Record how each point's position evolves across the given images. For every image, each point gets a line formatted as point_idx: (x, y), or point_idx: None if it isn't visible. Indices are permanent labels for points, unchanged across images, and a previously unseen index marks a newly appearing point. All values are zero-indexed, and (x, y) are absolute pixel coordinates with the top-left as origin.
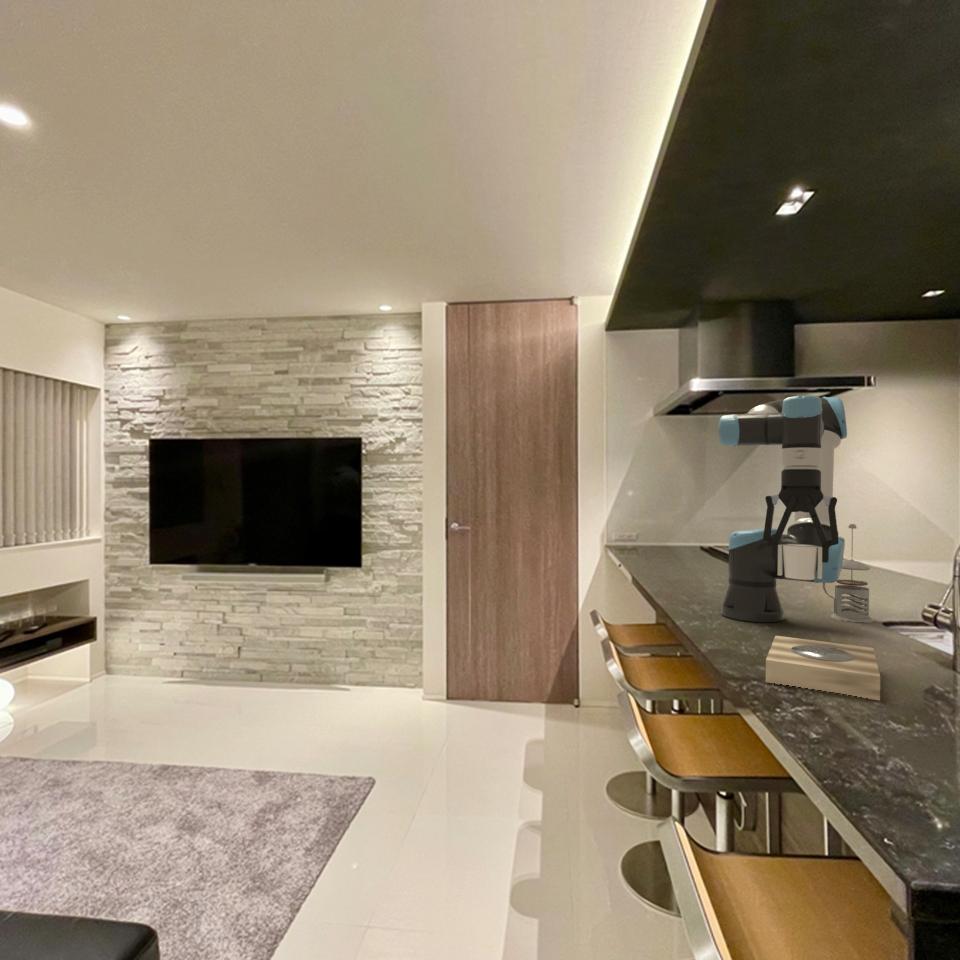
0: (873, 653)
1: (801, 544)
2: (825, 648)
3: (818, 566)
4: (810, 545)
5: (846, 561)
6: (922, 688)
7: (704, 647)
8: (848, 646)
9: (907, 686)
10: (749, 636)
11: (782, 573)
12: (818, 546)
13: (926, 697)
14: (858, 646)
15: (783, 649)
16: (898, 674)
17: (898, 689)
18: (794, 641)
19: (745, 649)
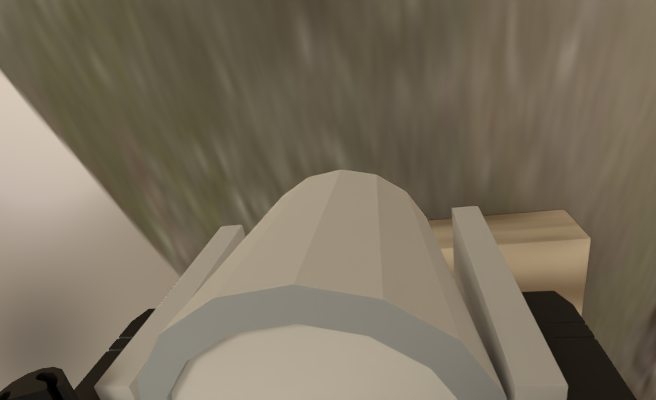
0: (579, 299)
1: (294, 324)
2: None
3: None
4: (413, 354)
5: None
6: (652, 302)
7: (177, 259)
8: (517, 262)
9: (620, 305)
10: (200, 57)
11: (241, 232)
12: (516, 384)
13: (641, 353)
14: (546, 248)
15: None
16: (622, 222)
17: (594, 333)
18: None
19: (253, 220)
